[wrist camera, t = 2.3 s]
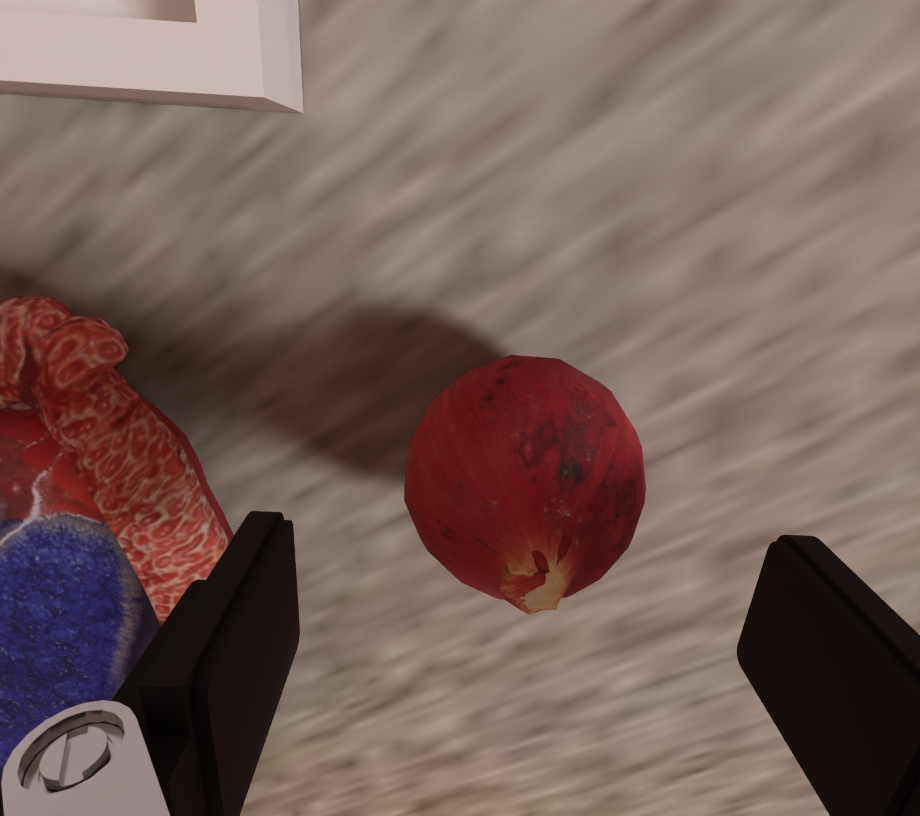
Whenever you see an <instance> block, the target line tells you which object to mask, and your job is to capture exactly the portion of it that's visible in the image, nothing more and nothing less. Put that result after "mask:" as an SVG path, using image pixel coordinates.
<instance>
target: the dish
mask: <svg viewBox="0 0 920 816" xmlns="http://www.w3.org/2000/svg"><path fill="white" fill-rule="evenodd" d="M128 350H129V348H128V346H127V344H126V342H125V340H124V338H123V336H122V334H121V333H120V332H119V331H118V330H116V329H115V328H113V327H112V326H111V325H109V324H108V323H107V322H105V321H104V320H103V319H99V318H94V317H83V316H74V315H73V314H72V313H71V312H70V310H69V309H68V308H67V307H66V306H65V305H64V304H62V303H61V302H59V301H58V300H56V299H54V298H53V297H14V298H11V299H8V300H6V301H3V302H0V784H1V782H2V776H3V769H4V766H5V764H6V763H7V761H8V759H9V757H10V755H11V753H12V751H13V750H14V749H15V748H16V747H17V746H18V744H19V743H20V742H21V741H22V740H23V739H24V738H25V736H26V735H27V734H29V733H30V732H31V731H32V730H34V729H35V728H36V727H37V726H39V725H40V724H41V723H43V722H44V721H45V720H47V719H49V718H51V717H52V716H54V715H56V714H58V713H60V712H62V711H63V710H65V709H68V708H71V707H74V706H77V705H80V704H83V703H87V702H94V701H101V700H105V701H111V700H112V699H113V697H114V696H115V694H116V693H117V691H118V690H119V688H120V687H121V685H122V684H123V682H124V681H125V679H126V678H127V676H128V675H129V673H130V672H131V671H132V669H133V668H134V666H135V665H136V663H137V662H138V660H139V659H140V657H141V656H142V654H143V653H144V651H145V650H146V648H147V647H148V645H149V644H150V642H151V641H152V639H153V638H154V636H155V635H156V634H157V632H158V631H159V629H160V628H161V626H162V625H163V623H164V622H165V620H166V619H167V617H168V616H169V614H170V613H171V611H172V610H173V608H174V607H175V605H176V604H177V602H178V601H179V599H180V598H181V597H182V595H183V594H184V592H185V591H186V589H187V588H188V587H189V585H190V584H191V583H192V582H193V581H195V580H197V579H201V580H206V579H207V577H208V576H209V574H210V573H211V571H212V569H213V568H214V566H215V565H216V563H217V562H218V560H219V559H220V557H221V555H222V554H223V552H224V551H225V549H226V548H227V546H228V545H229V543H230V541H231V540H232V538H233V537H234V535H233V533H232V531H231V529H230V526H229V524H228V522H227V520H226V518H225V516H224V513H223V511H222V510H221V508H220V506H219V504H218V502H217V500H216V499H215V497H214V495H213V493H212V491H211V490H210V488H209V486H208V484H207V481H206V479H205V476H204V473H203V470H202V467H201V464H200V462H199V459H198V457H197V455H196V453H195V451H194V450H193V448H192V446H191V444H190V442H189V440H188V439H187V437H186V435H185V434H184V433H183V432H182V431H181V430H180V429H179V428H178V427H177V426H176V425H175V424H174V423H172V422H171V421H170V420H169V419H168V418H167V417H166V416H165V415H164V414H163V413H162V412H161V411H160V410H159V409H157V408H156V407H155V406H154V405H153V404H151V403H150V402H149V401H148V400H146V399H145V398H144V397H142V396H141V395H140V394H139V393H137V392H136V391H135V390H133V389H132V388H131V386H130V385H129V384H128V383H127V382H126V380H125V379H124V378H123V377H122V376H121V374H120V373H119V372H118V371H117V370H116V368H115V367H114V366H115V365H116V364H118V363H119V362H120V361H122V360H123V359H125V357H126V355H127V352H128Z"/></svg>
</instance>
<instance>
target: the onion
mask: <svg viewBox="0 0 920 816" xmlns="http://www.w3.org/2000/svg"><path fill="white" fill-rule="evenodd" d="M645 493H646V483H645V473H644V464H643V454H642V446H641V444H640V441H639V438H638V436H637V433H636V431H635V429H634V427H633V426H632V424H631V422H630V421H629V419H628V418H627V416H626V414H625V413H624V411H623V410H622V408H621V406H620V405H619V403H618V402H617V400H616V398H615V397H614V395H613V394H612V392H611V391H610V390H609V389H607V388H606V387H605V386H604V385H602V384H601V383H600V382H598V381H596V380H595V379H593V378H591V377H590V376H588V375H586V374H584V373H583V372H581V371H579V370H577V369H576V368H574V367H572V366H571V365H569V364H567V363H565V362H564V361H562V360H560V359H555V358H542V357H530V356H517V355H510V356H507V357H504V358H501V359H499V360H496V361H493V362H490V363H488V364H485V365H482V366H479V367H477V368H474V369H471V370H469V371H467V372H466V373H465V374H463V375H462V376H461V377H460V378H458V379H457V380H456V381H455V382H453V383H452V384H451V385H450V386H448V387H447V388H446V389H445V390H443V391H442V392H441V393H440V394H438V395H437V396H436V397H435V398H434V399H433V400H432V402H431V403H430V404H429V405H428V407H427V409H426V411H425V413H424V415H423V417H422V419H421V421H420V423H419V425H418V426H417V428H416V430H415V432H414V434H413V436H412V438H411V440H410V442H409V446H408V456H407V466H406V475H405V489H404V501H405V503H406V506H407V508H408V511H409V513H410V515H411V518H412V520H413V522H414V525H415V527H416V529H417V532H418V534H419V536H420V539H421V540H422V542H423V544H424V545H425V547H426V549H427V550H428V552H430V553H431V554H432V555H433V556H434V557H435V558H436V559H437V560H438V561H439V562H440V563H441V564H442V565H443V566H444V567H445V568H446V569H447V570H449V571H450V572H451V573H452V574H453V575H454V576H455V577H456V578H457V579H458V580H460V581H461V582H462V583H464V584H466V585H468V586H470V587H472V588H475V589H477V590H479V591H481V592H484V593H486V594H488V595H490V596H492V597H495V598H498V599H503V600H506V601H508V602H509V603H511V604H512V605H514V606H515V607H517V608H518V609H520V610H522V611H524V612H525V613H527V614H529V615H530V614H533V613H536V612H539V611H542V610H556V608H557V605H558V602H559V601H560V599H561V598H564V597H569V596H571V595H573V594H575V593H576V592H578V591H580V590H582V589H584V588H585V587H587V586H589V585H591V584H593V583H594V582H596V581H598V580H600V579H601V578H602V576H603V575H604V574H605V573H606V572H607V571H608V570H609V569H610V568H611V567H612V565H613V564H614V563H615V562H616V561H617V560H618V559H619V558H620V556H621V555H622V554H623V553H624V552H625V551H626V550H627V548H628V547H629V545H630V542H631V540H632V538H633V535H634V532H635V529H636V526H637V523H638V520H639V518H640V515H641V512H642V509H643V506H644V503H645Z"/></svg>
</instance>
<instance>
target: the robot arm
mask: <svg viewBox="0 0 920 816" xmlns="http://www.w3.org/2000/svg"><path fill="white" fill-rule="evenodd" d="M299 635H300V625H299V610H298V594H297V578H296V562H295V547H294V531H293V523H292V521H291V520H284V517H283V514H282V513H281V512H262V511H251V512H250V513H249V514H248V515H247V516H246V518H245V520H244V521H243V523H242V524H241V526H240V527H239V529H238V531H237V532H236V534H235V535H234V537H233V538H232V540H231V541H230V543H229V545H228V546H227V548H226V549H225V551H224V552H223V554H222V555H221V557H220V559H219V560H218V562H217V563H216V565H215V566H214V568H213V569H212V571H211V573H210V574H209V576H208V577H207V579H206V580H201V579H197V580H195V581H193V582H192V583H191V584H190V585H189V587H188V588H187V589H186V591H185V592H184V594H183V595H182V597H181V598H180V599H179V601H178V602H177V604H176V605H175V607H174V608H173V610H172V611H171V613H170V614H169V616H168V617H167V619H166V620H165V622H164V623H163V625H162V626H161V628H160V629H159V631H158V632H157V634H156V635H155V636H154V638H153V639H152V641H151V642H150V644H149V645H148V647H147V648H146V650H145V651H144V653H143V654H142V656H141V657H140V659H139V660H138V662H137V663H136V665H135V666H134V668H133V669H132V671H131V672H130V673H129V675H128V676H127V678H126V679H125V681H124V682H123V684H122V685H121V687H120V688H119V690H118V691H117V693H116V694H115V696H114V697H113V699H112V700H111V701H105V700H101V701H94V702H87V703H83V704H80V705H77V706H74V707H71V708H68V709H65V710H63V711H62V712H60V713H58V714H56V715H54V716H52V717H51V718H49V719H47V720H45V721H44V722H43V723H41V724H40V725H39V726H37V727H36V728H35V729H34V730H32V731H31V732H30V733H29V734H27V735H26V736H25V738H24V739H23V740H22V741H21V742H20V743H19V744H18V746H17V747H16V748H15V749H14V750H13V751H12V753H11V755H10V757H9V759H8V761H7V763H6V764H5V766H4V769H3V776H2V782H1V784H0V816H240V813H241V810H242V807H243V804H244V801H245V798H246V795H247V792H248V789H249V787H250V784H251V781H252V778H253V775H254V772H255V769H256V766H257V763H258V761H259V758H260V755H261V752H262V749H263V746H264V743H265V740H266V737H267V735H268V732H269V729H270V726H271V723H272V720H273V717H274V714H275V711H276V709H277V706H278V703H279V700H280V697H281V694H282V691H283V688H284V685H285V682H286V680H287V677H288V674H289V671H290V668H291V665H292V662H293V659H294V656H295V654H296V651H297V647H298V642H299ZM737 657H738V661H739V664H740V666H741V668H742V670H743V671H744V673H745V675H746V676H747V678H748V680H749V681H750V683H751V685H752V686H753V688H754V690H755V691H756V693H757V695H758V696H759V698H760V700H761V701H762V703H763V705H764V706H765V708H766V710H767V711H768V713H769V715H770V716H771V718H772V720H773V721H774V723H775V725H776V726H777V728H778V730H779V731H780V733H781V735H782V736H783V738H784V740H785V741H786V743H787V745H788V746H789V748H790V750H791V751H792V753H793V755H794V756H795V758H796V760H797V761H798V763H799V765H800V766H801V768H802V770H803V771H804V773H805V775H806V776H807V778H808V780H809V781H810V783H811V785H812V786H813V788H814V790H815V791H816V793H817V795H818V796H819V798H820V800H821V801H822V803H823V805H824V806H825V808H826V810H827V811H828V813H829V815H830V816H920V635H919V634H918V633H917V632H916V631H915V630H914V629H913V628H911V627H910V626H909V625H908V624H907V623H906V622H905V621H904V620H903V619H902V618H901V617H900V616H899V615H898V614H897V613H896V612H895V611H894V610H893V609H892V608H891V607H890V606H888V605H887V604H886V603H885V602H884V601H883V600H882V599H881V598H880V597H879V596H878V595H877V594H876V593H875V592H874V591H873V590H872V589H871V588H870V587H869V586H868V585H867V584H865V583H864V582H863V581H862V580H861V579H860V578H859V577H858V576H857V575H856V574H855V573H854V572H853V571H852V570H851V569H850V568H849V567H848V566H847V565H846V564H845V563H843V562H842V561H841V560H840V559H839V558H838V557H837V556H836V555H835V554H834V553H833V552H832V551H831V550H830V549H829V548H828V547H827V546H826V545H825V544H824V543H823V542H822V541H820V540H819V539H818V538H816V537H814V536H801V535H782V536H780V537H779V538H778V539H777V541H776V542H772V543H771V544H770V545H769V547H768V550H767V553H766V556H765V559H764V563H763V566H762V569H761V572H760V575H759V578H758V582H757V585H756V588H755V591H754V594H753V598H752V601H751V604H750V607H749V610H748V613H747V617H746V620H745V623H744V626H743V629H742V633H741V636H740V639H739V642H738V646H737Z"/></svg>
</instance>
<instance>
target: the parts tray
mask: <svg viewBox="0 0 920 816" xmlns="http://www.w3.org/2000/svg"><path fill="white" fill-rule="evenodd" d="M0 94H11V95H26V96H42V97H57V98H73V99H89V100H104V101H120V102H135V103H151V104H167V105H182V106H198V107H213V108H229V109H245V110H260V111H276V112H291V113H303V95H302V73H301V52H300V31H299V10H298V0H0Z"/></svg>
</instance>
